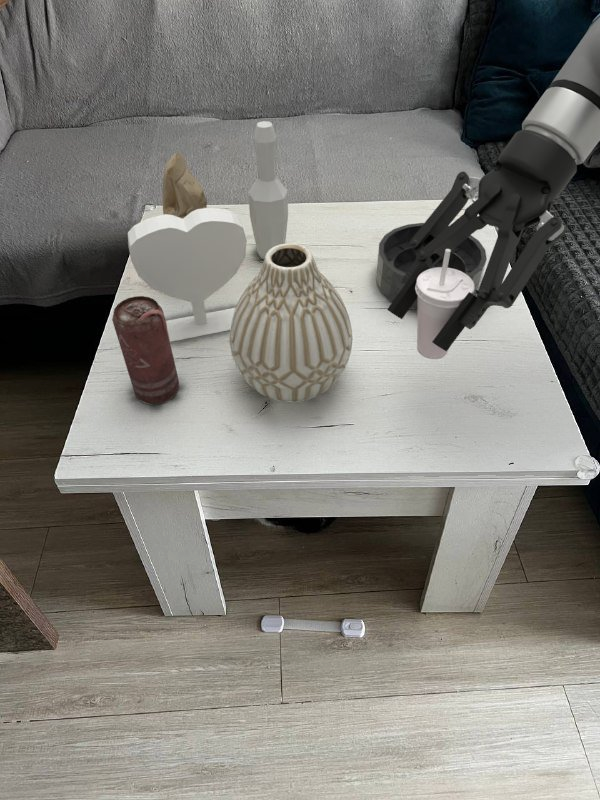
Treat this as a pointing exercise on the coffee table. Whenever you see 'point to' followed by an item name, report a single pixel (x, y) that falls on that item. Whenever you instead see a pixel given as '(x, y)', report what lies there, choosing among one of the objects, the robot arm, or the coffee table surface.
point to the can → (146, 349)
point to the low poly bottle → (267, 194)
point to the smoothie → (438, 303)
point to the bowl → (401, 256)
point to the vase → (290, 328)
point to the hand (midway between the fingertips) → (416, 330)
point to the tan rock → (181, 189)
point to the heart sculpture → (190, 263)
